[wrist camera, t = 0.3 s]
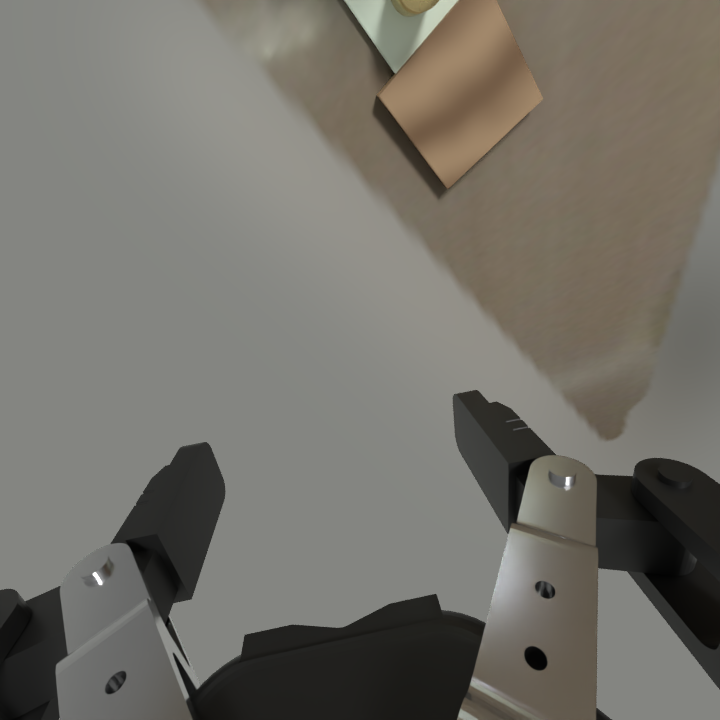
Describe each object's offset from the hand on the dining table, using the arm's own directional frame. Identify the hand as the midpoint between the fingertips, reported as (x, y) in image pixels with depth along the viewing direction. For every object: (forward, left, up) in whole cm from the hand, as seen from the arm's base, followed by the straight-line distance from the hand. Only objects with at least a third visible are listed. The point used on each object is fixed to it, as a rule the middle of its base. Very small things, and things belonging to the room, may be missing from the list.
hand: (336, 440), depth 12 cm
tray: (+4, +14, -29) cm, 33 cm away
